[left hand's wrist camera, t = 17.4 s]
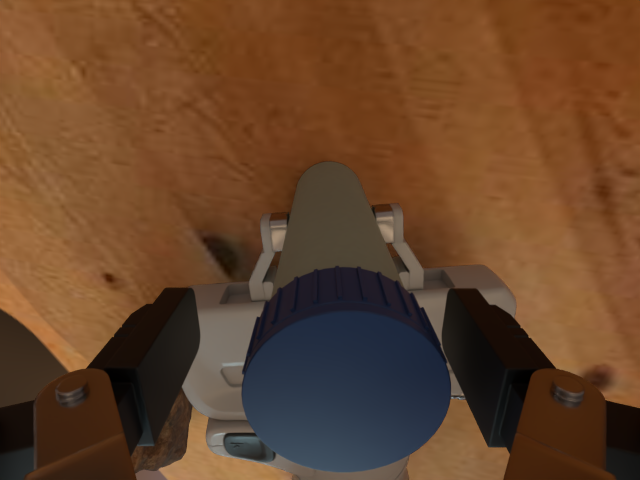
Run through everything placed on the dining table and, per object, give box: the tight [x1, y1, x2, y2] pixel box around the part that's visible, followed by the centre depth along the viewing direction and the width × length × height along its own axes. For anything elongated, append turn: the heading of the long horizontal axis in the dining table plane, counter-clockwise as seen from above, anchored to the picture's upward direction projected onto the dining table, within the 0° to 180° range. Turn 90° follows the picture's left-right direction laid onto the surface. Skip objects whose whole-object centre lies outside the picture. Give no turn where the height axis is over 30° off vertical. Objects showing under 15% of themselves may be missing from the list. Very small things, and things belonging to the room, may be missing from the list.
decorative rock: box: [131, 387, 192, 473], centre depth 28 cm, size 12×6×11 cm, turn 170°
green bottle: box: [271, 162, 404, 298], centre depth 19 cm, size 5×5×19 cm
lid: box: [241, 266, 451, 472], centre depth 10 cm, size 5×5×2 cm
